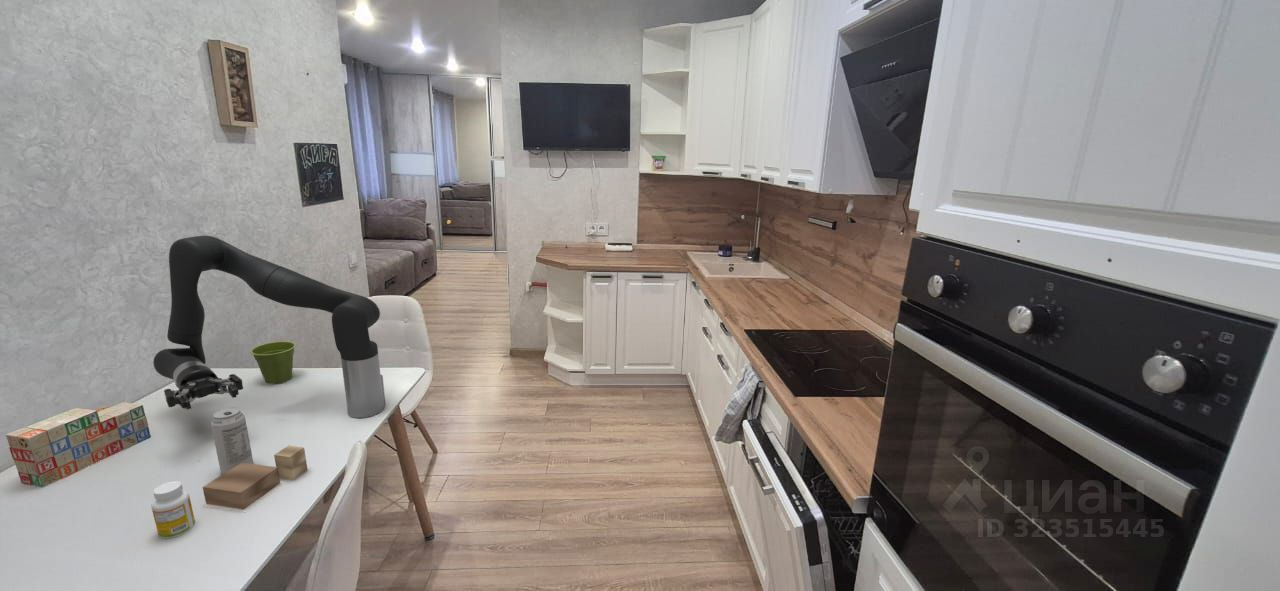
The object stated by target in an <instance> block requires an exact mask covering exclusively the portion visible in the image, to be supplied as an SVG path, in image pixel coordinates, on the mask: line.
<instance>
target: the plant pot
mask: <svg viewBox="0 0 1280 591" xmlns="http://www.w3.org/2000/svg"><path fill="white" fill-rule="evenodd" d="M296 346H297V344H296V342H293V341H288V340H287V341H285V340H283V341H282V340H279V341H271V342H266V343H263V344H259V345H256V346H254V347H253V348H252V349H250V351H249V352H250V354H251V355H253V358H254V360H255V361H256V362H257V365H258V367H259V371H260V373H261V375H262V378H263V380H264V382H265V383H266V384H267V383H268V384H269V385H279V384H284V383H286V382H287V381H288V380H289V381H290V380H291V379H292V378H293V365H294V353H295V348H296ZM283 382H284V383H283ZM278 383H279V384H278Z"/></svg>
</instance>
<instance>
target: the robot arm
mask: <svg viewBox="0 0 1280 591" xmlns="http://www.w3.org/2000/svg"><path fill="white" fill-rule="evenodd" d="M168 264H169V279H170V280H169V282H170V295H171V296H170V297H171V304H170V305H171V307H170V316H169V322H168V328H167V335H166V336H167V339H168V341H169V342H170V343H173V344H176V345H181V346H186V347H182V348H181V347H180V348H179V347H175V348H164V349H161V350H160V351H158V352H157V353H156V354H155V356H154V358H153V367H154V370H155V371H156V372H157V373H158V374H159V375H160V376H163V377H165V378H167V379H171V380H173V381H174V384H175V387H176V388H178V389H177V390H174V389H171V388H166V389H164V390H163V392H164V397H165V401H166V403H167V406H168V408H174V407H175V406H177V405H178V406H180V407H181V408H182V409H186V410H187V411H188V410H192V404H191V403H193V402H194V401H195V400H196V399H202V398H205V397H207V396H209V395H214V394H215V395H224V394H229V395H230V397H231V398H237V396H238V395H239V393H240V392H239V391H241V390H243V389H244V386H243V379H242V378H240V377H239V376H238V375H236V374H235V373H233V374H232V373H231V374H229V375H228V377H227V378H224V379H223V378H220V377H218V375H217V374H216V373H215V372H214V371H213V370H212V369H211V368H210V367H209V366H208V365H207V364H206V356H205V355H206V354H205V352H204V347H203V342H202V341H203V338H202V337H203V330H204V325H205V324H204V323H205V309H204V306H203V303H202V300H201V299H200V296H199V292H198V285H199V284H198V283H199V280H200V277H201V274H202V272H206V271H210V270H214V271H215V270H216V271H220V272H222V273H223V272H224V273H227V274H230V275H232V276H235V277H237V278H239V279H241V280H242V281H243V282H245V283H246V284H247V285H248V287H249V288H250V289H251V290H252V291H254V292H255V293H256V294H258V295H259V296H262V297H264V298H266V299H268V300H271V301H274V302H277V303H278V304H279V303H280V304H281V305H285V306H290V307H295V308H305V309H314V310H320V311H325V312H328V313H330V314H331V326H332V331H333V337H334V342H335V343H334V344H335V347H336V349H337V350H338V351H339V355H340V359H341V360H340V361H341V362H340V363H341V368H342V369H341V370H342V376H343V382H344V383H343V385H344V392H345V399H346V400H345V401H346V407H347V408H346V410H347V415H348V416H349V417H350V418H355V419H362V418H364V419H365V418H369V417H373V416H375V415H377V414H379V413H381V412H382V411H383V410H384V408H385V405H386V395H385V385H384V376H383V374H382V373H381V368H380V367H381V366H380V358H379V356H380V355H379V349H378V348H379V346H378V344H377V343H376V342H375V341H374V340H371V338H370V333H369V328H371V327H372V326H374V325H375V324H376V323H377V322H378V320H379V319H380V317H381V312H380V308H379V307H378V305H377V303H375V301H373V300H371V299H370V298H369V297H366V296H364V295H360V294H356V293H353V292H349V291H347V290H342V289H340V288H337V287H333V286H331V285H329V284H326V283H323V282H322V281H318V280H316V279H314V278H311V277H309V276H306V275H303V274H301V273H299V272H297V271H294V270H292V269H291V268H290V269H289V268H286V267H284V266H281V265H279V264H276V263H274V262H271V261H268V260H266V259H263V258H260V257H258V256H255V255H253V254H250V253H248V252H247V251H244V250H241V249H240V248H238V247H235V246H234V245H232V244H230V243H228V242H226V241H224V240H223V239H221V238H218V237H216V236H212V235H197V236H190V237H183V238H180V239H178V240H175V241H174V242H173V243H172V244H171V246H170V248H169V253H168Z"/></svg>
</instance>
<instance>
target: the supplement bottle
mask: <svg viewBox="0 0 1280 591" xmlns="http://www.w3.org/2000/svg"><path fill="white" fill-rule="evenodd" d="M152 494H153V497H154V499H153V501H152V502H151V511H152V516H153V518H154V523H155V526H156V527H155V528H156V530H157V535H158V536H159V537H160V538H161V539H171V538H172V539H173V538H174V537H178V536H182V535H183V534H185V533H188V532H189V531H190V530H191V529H193V528H194V527H195V525H196V519H195V515H194V511H193V507H192V502H191V498H190V493H189V492H188V491H187V490H184V489H183V485H182V482H181V481H180V480H174V481H173V480H172V481H168V482H165V483H161V484H160V485H158V486H156V488H154V489H153V493H152Z"/></svg>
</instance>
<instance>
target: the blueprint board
mask: <svg viewBox="0 0 1280 591" xmlns="http://www.w3.org/2000/svg"><path fill="white" fill-rule="evenodd" d="M286 483H287V481H284V480H280V484H278V485H277V486H276V487H274V488H273V489H272V490H270V491H269V492H267V493H266V494H265V495H263V496H262V497H260V498H259V499H258V500H256V501H255V502H254V503H252V504H251V505H249V506H248V507H247V508H245V509H237V508H231V507H224V506H218V505H211V504H206V503H205V504H203V505H202V507H207V508H212V509H213V508H214V509H219V510H224V511H225V510H226V511H233V512H238V513H239V512H240V513H247V512H248V511H250V510H251V509H252V508H253V507H256V505H258V504H259V503H260V502H262V501H263V500H265V499H266V498H267V497H269V496H270V495H271V494H272V493H274V492H276V490H278V489H279V488H281V487H282V486H284V485H285V484H286Z"/></svg>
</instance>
